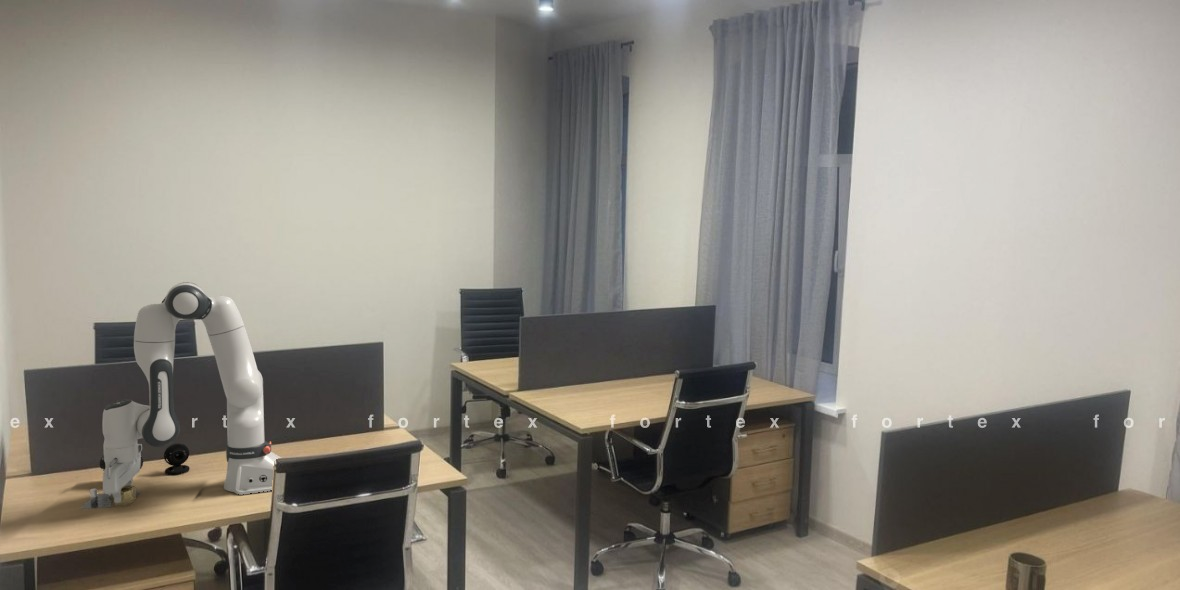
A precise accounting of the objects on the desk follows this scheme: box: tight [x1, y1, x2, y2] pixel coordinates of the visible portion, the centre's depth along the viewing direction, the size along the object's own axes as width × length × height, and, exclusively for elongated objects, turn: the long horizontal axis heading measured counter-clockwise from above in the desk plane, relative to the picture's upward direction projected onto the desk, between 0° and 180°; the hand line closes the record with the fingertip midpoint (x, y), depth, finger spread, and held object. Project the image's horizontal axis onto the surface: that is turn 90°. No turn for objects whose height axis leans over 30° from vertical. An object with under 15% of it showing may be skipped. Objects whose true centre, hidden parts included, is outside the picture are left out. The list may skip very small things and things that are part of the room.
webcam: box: [163, 443, 190, 476], centre depth 259 cm, size 8×8×10 cm
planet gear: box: [111, 484, 137, 506], centre depth 230 cm, size 6×6×4 cm
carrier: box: [79, 487, 142, 510], centre depth 231 cm, size 13×12×5 cm
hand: (123, 497), depth 230 cm, fingers closed on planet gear, 6 cm apart
